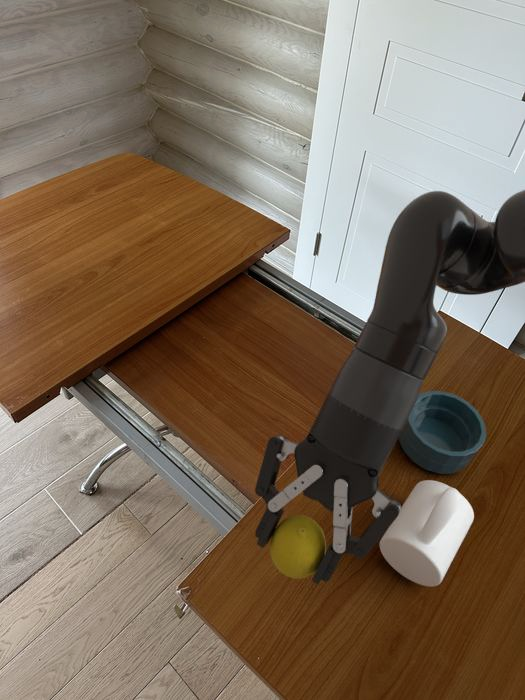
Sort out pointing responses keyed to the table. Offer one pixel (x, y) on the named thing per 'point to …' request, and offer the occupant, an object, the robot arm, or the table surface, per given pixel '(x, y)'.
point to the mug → (427, 532)
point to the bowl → (442, 432)
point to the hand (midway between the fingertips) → (289, 561)
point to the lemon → (297, 546)
